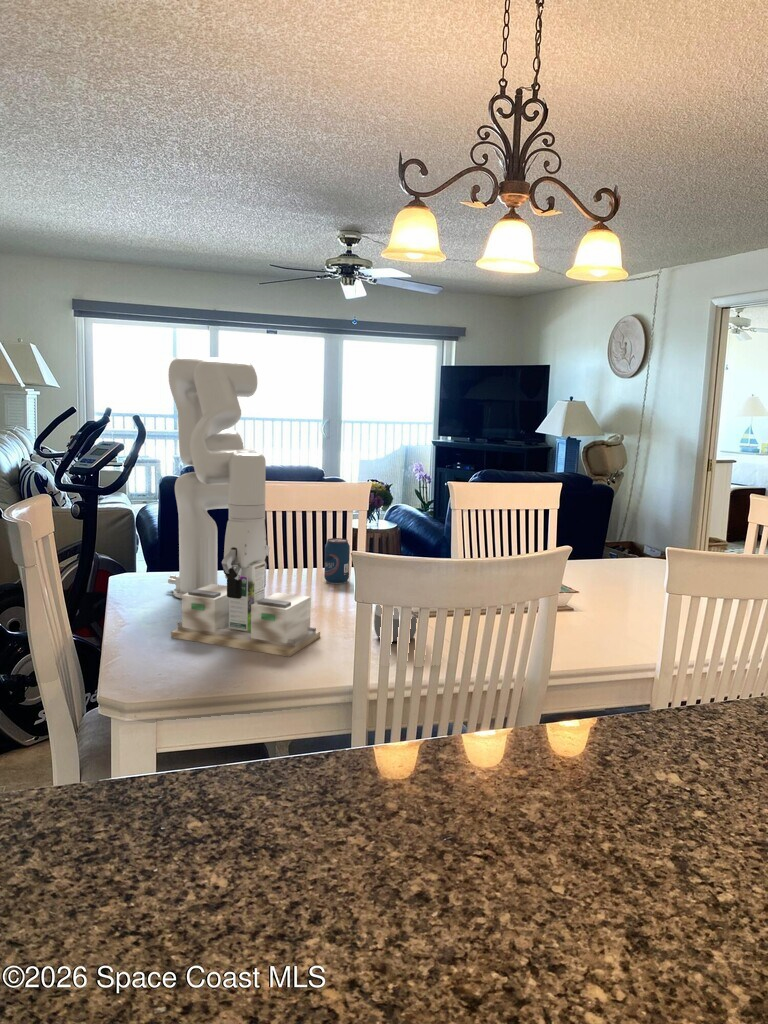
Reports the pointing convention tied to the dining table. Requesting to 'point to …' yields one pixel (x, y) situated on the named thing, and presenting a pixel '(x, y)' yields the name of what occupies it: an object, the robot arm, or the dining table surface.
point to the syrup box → (247, 596)
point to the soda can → (337, 561)
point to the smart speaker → (395, 623)
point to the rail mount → (273, 622)
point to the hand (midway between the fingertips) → (246, 592)
